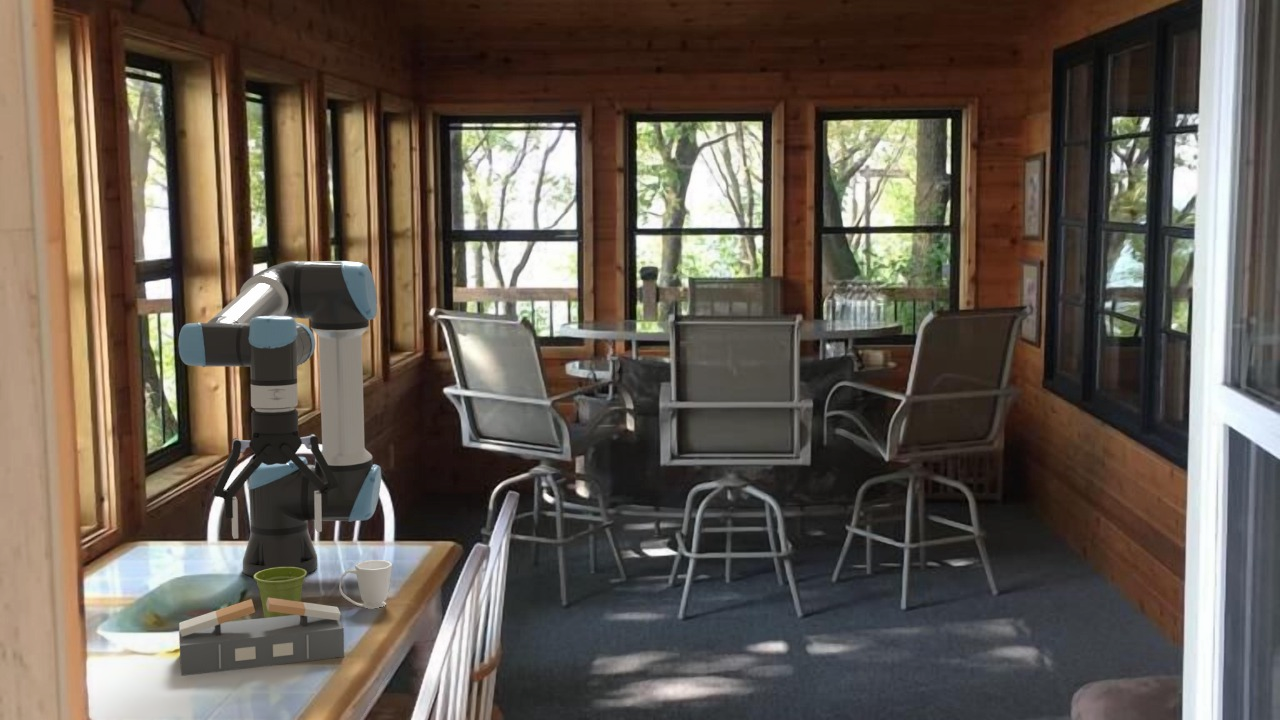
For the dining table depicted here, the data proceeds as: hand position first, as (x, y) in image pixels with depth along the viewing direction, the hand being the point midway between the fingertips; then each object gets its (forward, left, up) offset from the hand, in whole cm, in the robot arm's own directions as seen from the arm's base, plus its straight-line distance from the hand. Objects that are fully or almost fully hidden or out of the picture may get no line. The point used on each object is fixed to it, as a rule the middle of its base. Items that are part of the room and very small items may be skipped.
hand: (277, 533), depth 217 cm
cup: (-22, +18, -21) cm, 35 cm away
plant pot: (-19, +2, -21) cm, 28 cm away
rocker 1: (0, -10, -13) cm, 17 cm away
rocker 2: (0, +4, -13) cm, 14 cm away
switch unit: (0, -3, -21) cm, 21 cm away
